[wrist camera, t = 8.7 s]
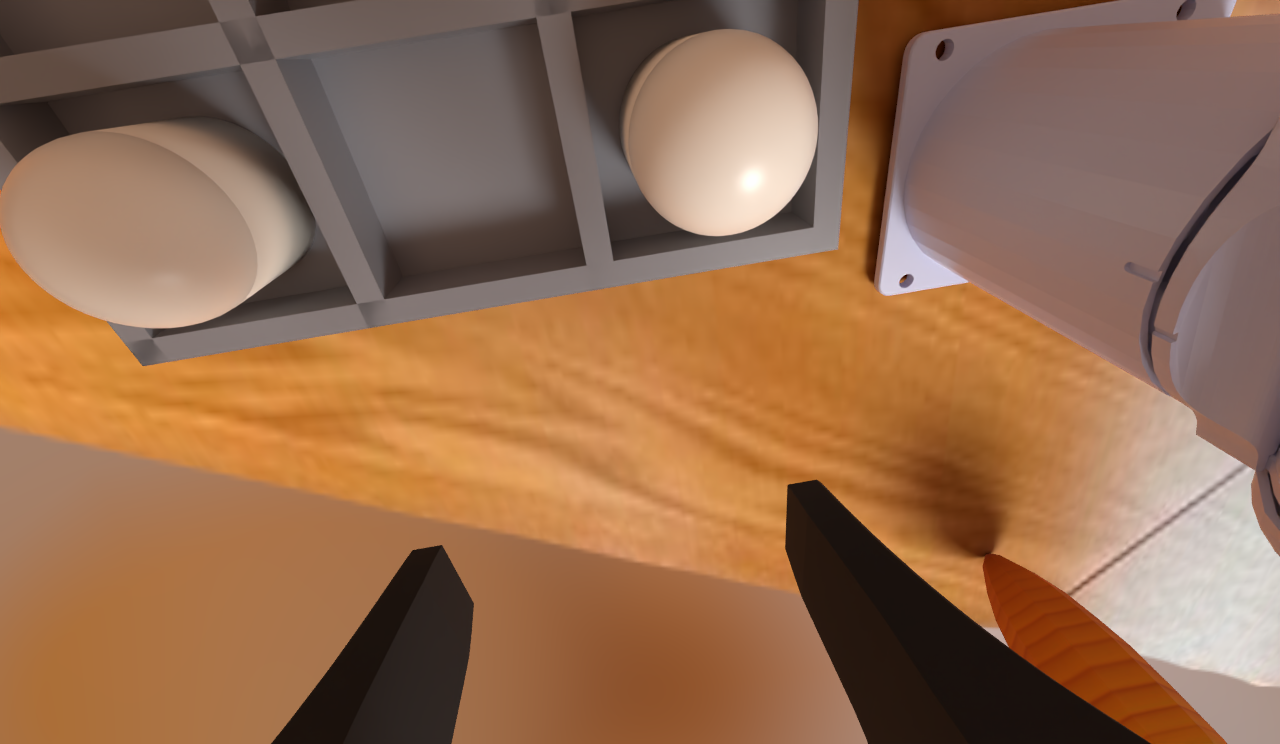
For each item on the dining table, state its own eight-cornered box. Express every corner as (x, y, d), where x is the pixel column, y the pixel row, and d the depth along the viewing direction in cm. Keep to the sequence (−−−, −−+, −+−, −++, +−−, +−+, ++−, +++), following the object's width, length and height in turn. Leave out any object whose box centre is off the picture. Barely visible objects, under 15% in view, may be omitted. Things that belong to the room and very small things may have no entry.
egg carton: (848, -538, 9) (1150, -1212, 4) (809, 228, 17) (902, 296, 12) (-308, -369, 9) (-1377, -884, 4) (191, 332, 17) (31, 444, 12)
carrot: (974, 522, 27) (1328, 940, 14) (1049, 527, 28) (1446, 923, 15) (928, 580, 29) (1194, 979, 17) (999, 583, 30) (1302, 963, 17)
